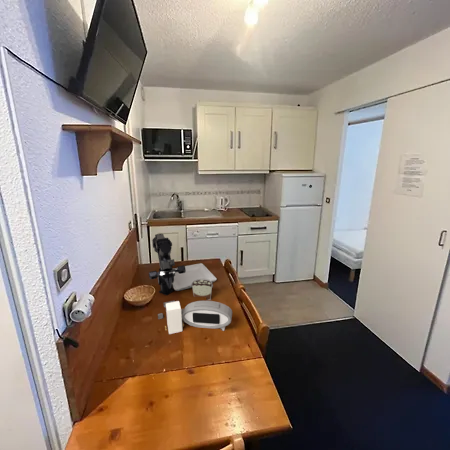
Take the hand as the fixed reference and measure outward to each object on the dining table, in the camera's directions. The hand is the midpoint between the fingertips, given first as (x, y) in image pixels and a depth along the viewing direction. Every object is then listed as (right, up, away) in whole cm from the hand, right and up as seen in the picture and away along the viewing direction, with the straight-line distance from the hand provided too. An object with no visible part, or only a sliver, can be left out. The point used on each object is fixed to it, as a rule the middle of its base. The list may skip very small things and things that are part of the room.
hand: (169, 288), depth 129 cm
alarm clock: (+20, -16, -10) cm, 27 cm away
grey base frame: (+2, -14, -3) cm, 14 cm away
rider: (+5, -15, -13) cm, 21 cm away
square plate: (+5, -3, +36) cm, 36 cm away
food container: (+16, -9, +15) cm, 24 cm away
